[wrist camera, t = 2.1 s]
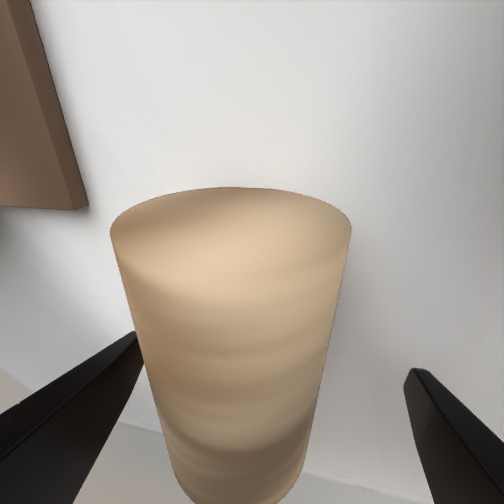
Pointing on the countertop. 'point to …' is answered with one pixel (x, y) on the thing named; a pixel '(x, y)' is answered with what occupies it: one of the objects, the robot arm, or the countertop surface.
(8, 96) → the holder stand
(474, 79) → the countertop surface
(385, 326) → the countertop surface
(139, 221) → the paper roll
